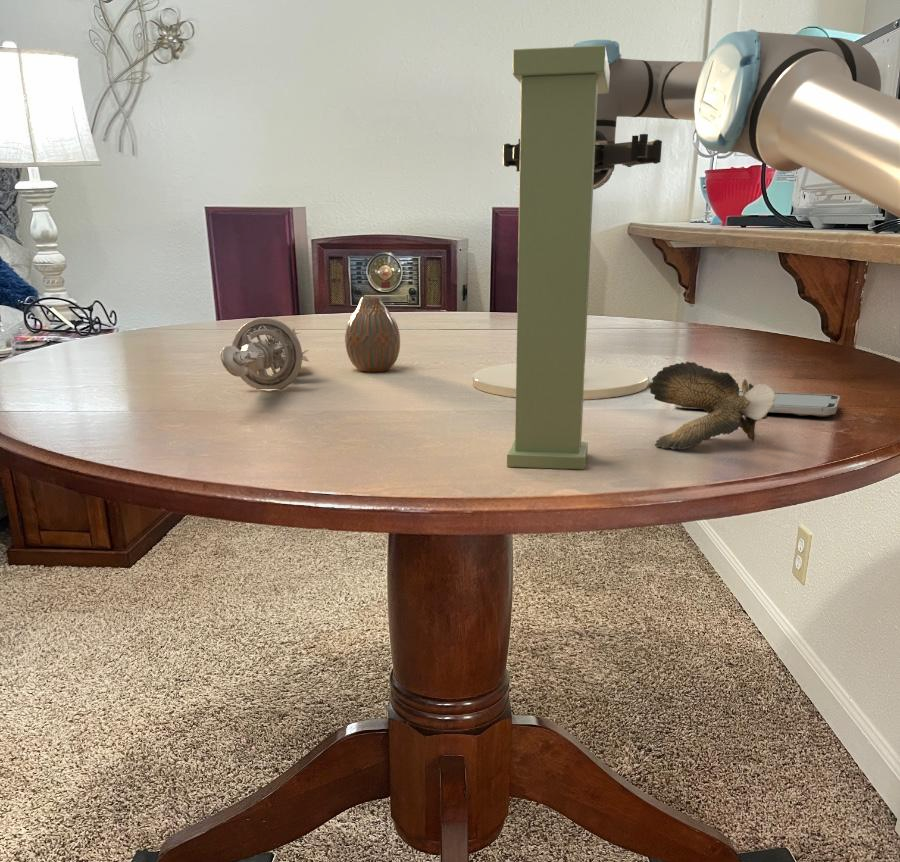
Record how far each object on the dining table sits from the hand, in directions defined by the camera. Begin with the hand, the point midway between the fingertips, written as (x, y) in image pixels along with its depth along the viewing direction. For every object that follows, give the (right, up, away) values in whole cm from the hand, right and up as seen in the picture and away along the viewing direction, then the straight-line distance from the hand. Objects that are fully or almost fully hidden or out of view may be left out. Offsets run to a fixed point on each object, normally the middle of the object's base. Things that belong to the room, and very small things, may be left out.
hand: (577, 149), depth 107 cm
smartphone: (+15, -35, -19) cm, 43 cm away
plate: (-3, -29, -5) cm, 30 cm away
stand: (-7, -42, -33) cm, 54 cm away
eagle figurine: (+7, -41, -32) cm, 52 cm away
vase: (-25, -25, +6) cm, 36 cm away
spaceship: (-36, -31, -7) cm, 48 cm away
